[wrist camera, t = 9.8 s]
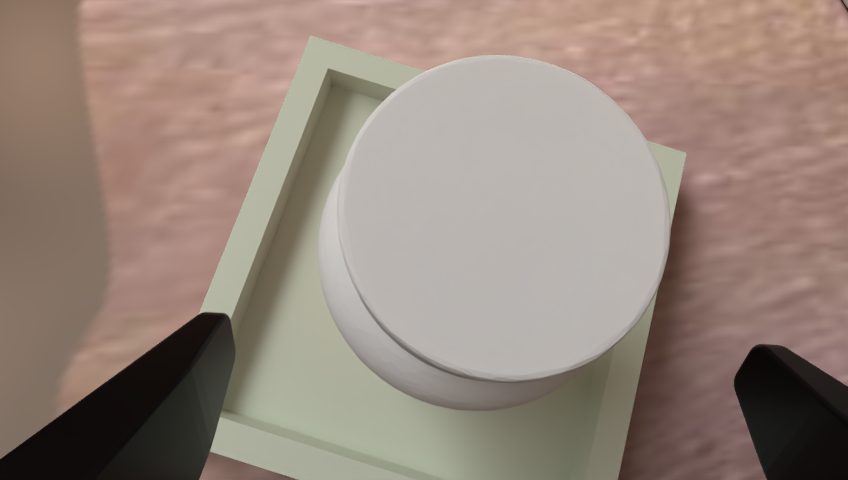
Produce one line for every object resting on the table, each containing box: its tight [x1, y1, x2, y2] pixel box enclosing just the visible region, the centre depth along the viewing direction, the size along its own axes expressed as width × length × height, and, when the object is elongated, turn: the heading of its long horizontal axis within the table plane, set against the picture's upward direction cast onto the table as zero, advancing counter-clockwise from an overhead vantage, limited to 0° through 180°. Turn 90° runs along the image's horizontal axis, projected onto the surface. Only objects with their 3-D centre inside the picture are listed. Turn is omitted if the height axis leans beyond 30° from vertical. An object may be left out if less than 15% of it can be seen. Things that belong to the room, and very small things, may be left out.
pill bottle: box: [318, 55, 671, 411], centre depth 12 cm, size 6×6×11 cm
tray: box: [199, 36, 687, 480], centre depth 17 cm, size 14×14×2 cm
